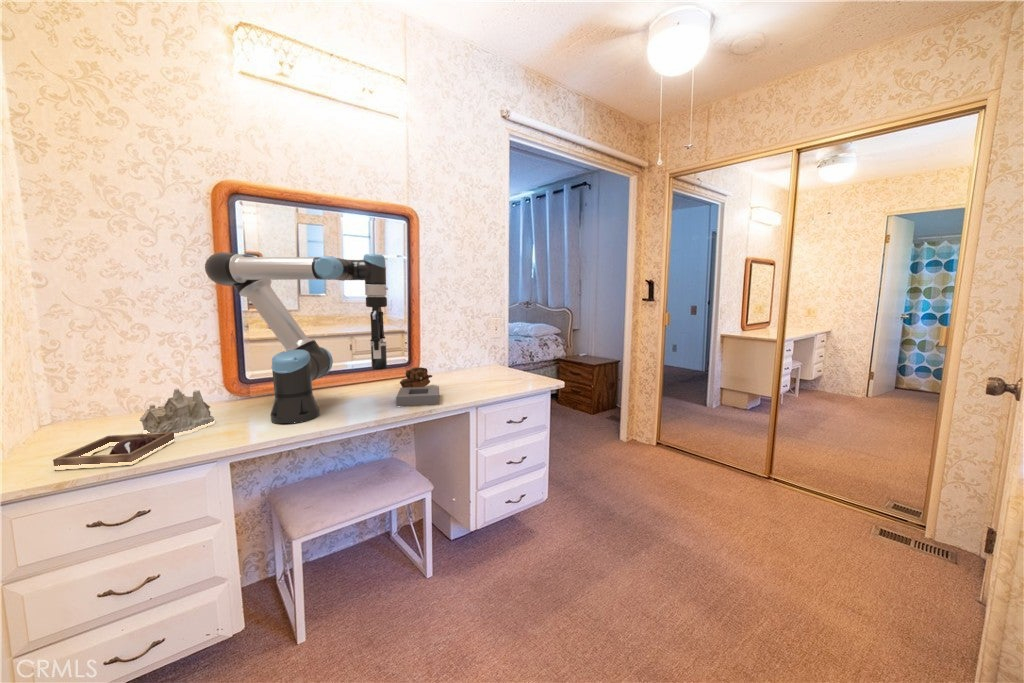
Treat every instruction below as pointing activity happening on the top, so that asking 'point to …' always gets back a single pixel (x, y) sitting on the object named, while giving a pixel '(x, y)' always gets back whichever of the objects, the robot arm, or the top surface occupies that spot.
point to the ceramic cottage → (177, 414)
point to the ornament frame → (74, 458)
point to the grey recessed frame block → (418, 396)
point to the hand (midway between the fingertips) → (378, 356)
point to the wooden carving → (416, 378)
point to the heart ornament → (131, 445)
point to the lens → (379, 363)
